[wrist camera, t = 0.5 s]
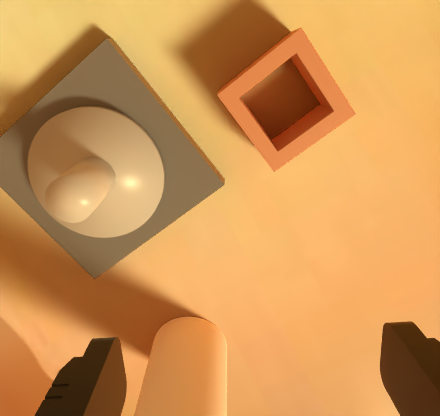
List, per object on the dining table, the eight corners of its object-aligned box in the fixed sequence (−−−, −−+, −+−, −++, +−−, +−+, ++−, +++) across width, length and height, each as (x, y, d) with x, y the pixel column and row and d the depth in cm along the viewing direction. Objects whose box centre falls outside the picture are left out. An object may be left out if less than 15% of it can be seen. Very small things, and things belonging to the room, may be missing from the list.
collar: (291, 31, 27) (301, 27, 23) (339, 106, 28) (355, 114, 25) (218, 90, 28) (217, 95, 24) (268, 157, 30) (274, 171, 26)
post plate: (113, 39, 27) (72, 32, 20) (224, 178, 31) (223, 214, 24) (-15, 156, 30) (-87, 186, 23) (100, 269, 34) (66, 325, 27)
